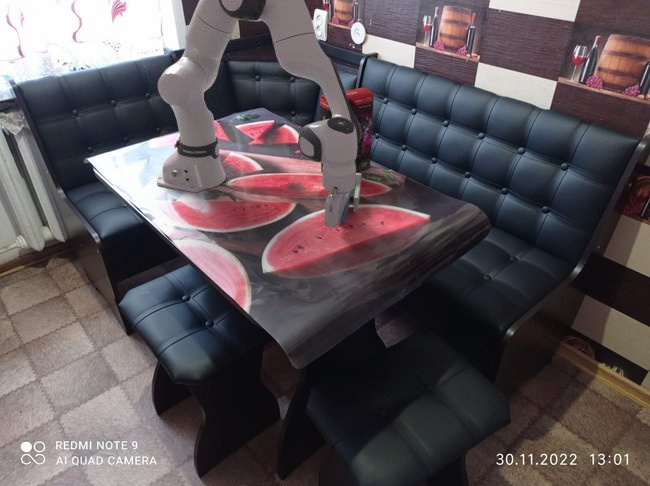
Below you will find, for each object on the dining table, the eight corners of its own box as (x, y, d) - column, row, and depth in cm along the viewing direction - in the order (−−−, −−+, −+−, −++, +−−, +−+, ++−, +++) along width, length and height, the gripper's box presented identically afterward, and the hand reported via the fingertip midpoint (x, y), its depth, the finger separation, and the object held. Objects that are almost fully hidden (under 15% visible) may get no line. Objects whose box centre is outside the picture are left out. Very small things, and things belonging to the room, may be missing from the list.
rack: (326, 209, 148) (326, 186, 143) (330, 193, 156) (331, 171, 151) (357, 212, 147) (358, 189, 142) (359, 195, 155) (361, 173, 150)
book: (332, 222, 142) (332, 204, 139) (336, 204, 150) (336, 187, 147) (345, 223, 142) (346, 205, 138) (349, 205, 150) (349, 188, 146)
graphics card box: (328, 180, 163) (330, 101, 147) (318, 172, 168) (319, 94, 152) (370, 169, 170) (376, 92, 154) (359, 161, 175) (364, 86, 159)
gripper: (343, 200, 120) (341, 244, 128) (356, 164, 137) (354, 205, 145) (318, 197, 121) (318, 241, 130) (334, 161, 138) (333, 203, 146)
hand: (337, 222), depth 137 cm, fingers closed
